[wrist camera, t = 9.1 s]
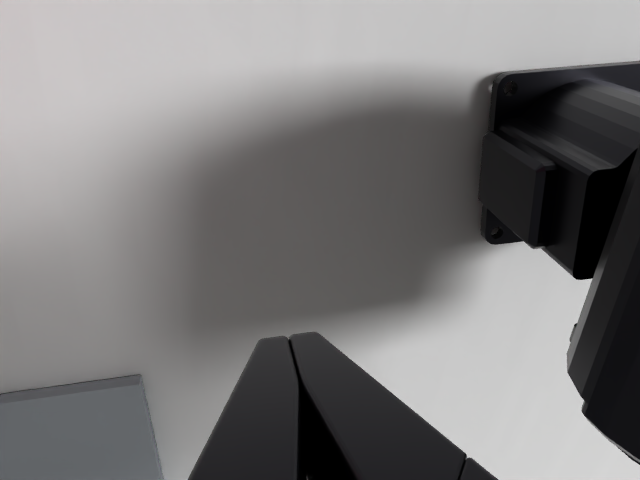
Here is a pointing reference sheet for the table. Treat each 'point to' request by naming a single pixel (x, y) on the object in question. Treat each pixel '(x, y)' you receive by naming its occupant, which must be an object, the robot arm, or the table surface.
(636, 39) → the table surface
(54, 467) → the mat
